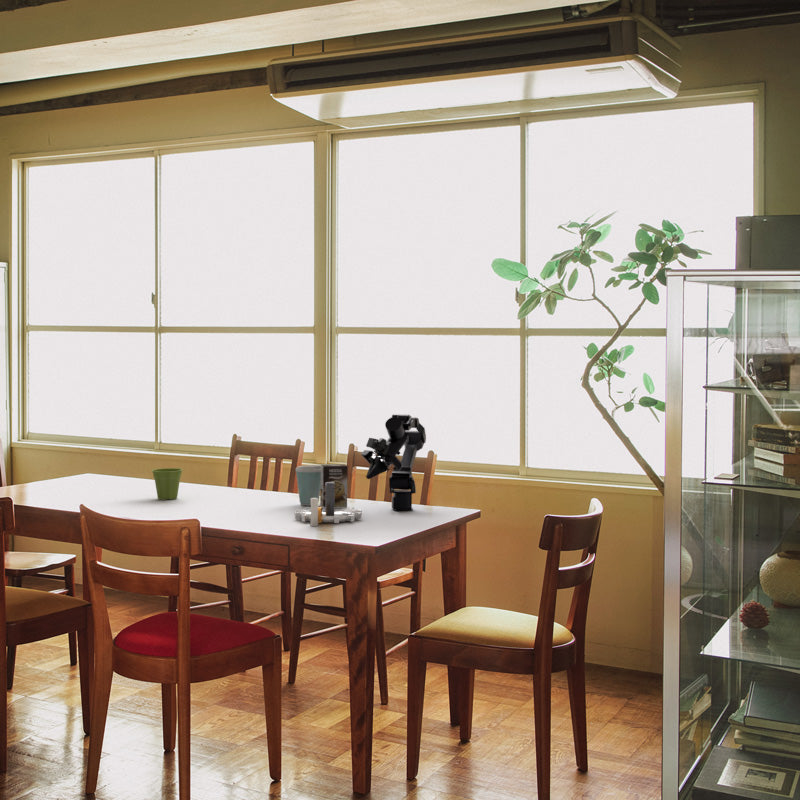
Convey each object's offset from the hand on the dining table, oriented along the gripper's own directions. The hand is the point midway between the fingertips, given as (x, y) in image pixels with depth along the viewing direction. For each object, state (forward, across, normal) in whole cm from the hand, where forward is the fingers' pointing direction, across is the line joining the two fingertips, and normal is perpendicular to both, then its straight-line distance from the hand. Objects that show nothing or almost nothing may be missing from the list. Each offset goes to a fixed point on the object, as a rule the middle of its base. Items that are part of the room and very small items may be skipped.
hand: (367, 478), depth 338 cm
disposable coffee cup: (+13, -32, +6) cm, 35 cm away
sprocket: (+19, -3, 0) cm, 19 cm away
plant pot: (+41, -74, -21) cm, 87 cm away
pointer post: (+26, +6, -8) cm, 28 cm away
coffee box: (+11, -19, +8) cm, 24 cm away
